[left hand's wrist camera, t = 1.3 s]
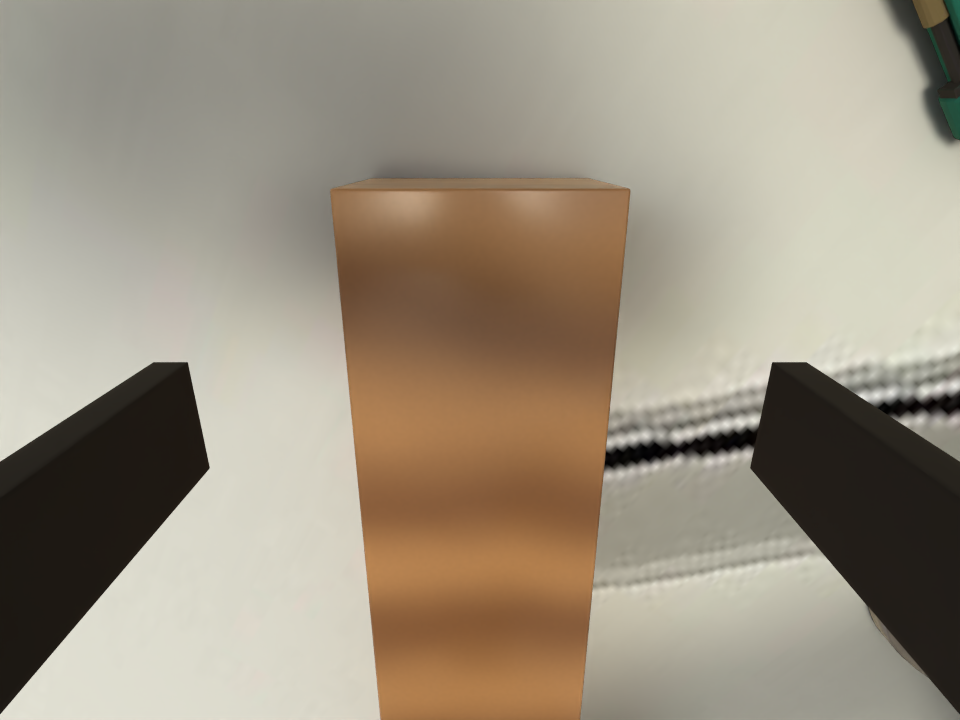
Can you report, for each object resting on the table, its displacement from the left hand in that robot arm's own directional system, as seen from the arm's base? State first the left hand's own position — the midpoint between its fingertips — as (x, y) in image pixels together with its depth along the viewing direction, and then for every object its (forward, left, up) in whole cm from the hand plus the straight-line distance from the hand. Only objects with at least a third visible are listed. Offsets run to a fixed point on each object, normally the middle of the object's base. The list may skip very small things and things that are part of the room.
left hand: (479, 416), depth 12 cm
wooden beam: (+23, -5, -15) cm, 28 cm away
